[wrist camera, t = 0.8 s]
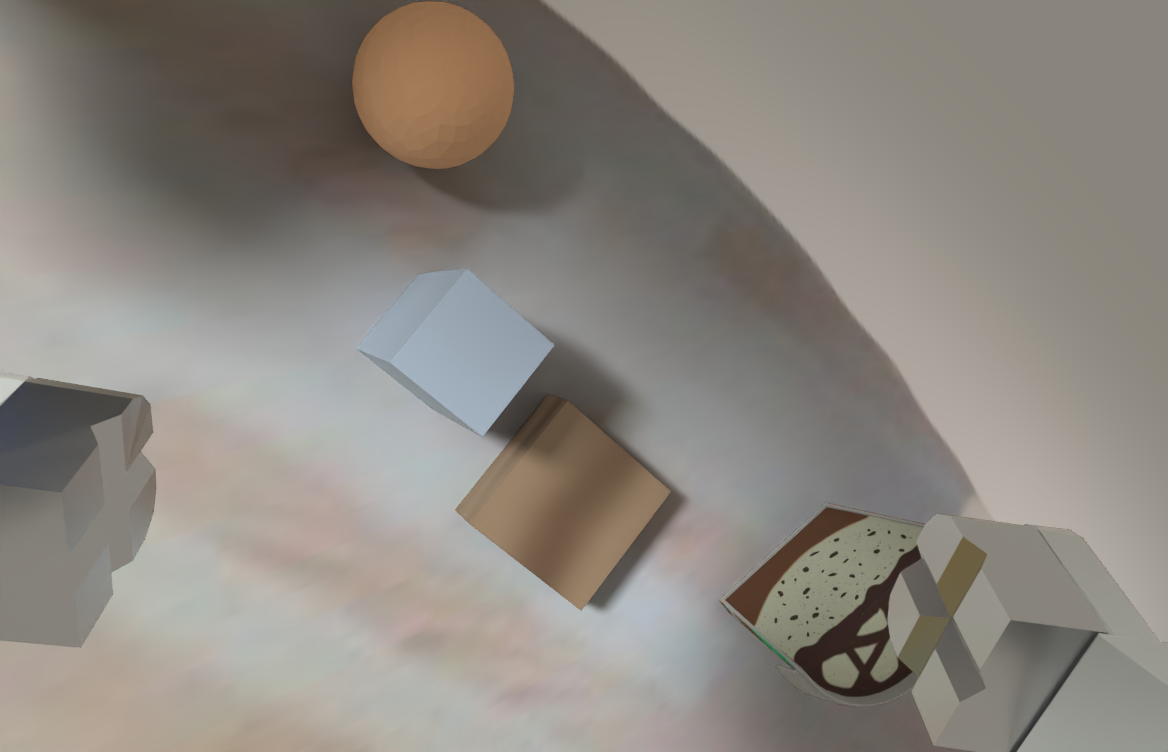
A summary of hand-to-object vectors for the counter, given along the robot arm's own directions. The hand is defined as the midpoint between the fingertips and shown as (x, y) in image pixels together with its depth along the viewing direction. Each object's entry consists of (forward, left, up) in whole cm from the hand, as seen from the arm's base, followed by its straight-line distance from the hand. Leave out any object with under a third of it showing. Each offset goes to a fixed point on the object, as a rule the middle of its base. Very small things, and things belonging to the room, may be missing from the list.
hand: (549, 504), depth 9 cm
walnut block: (+16, +2, -38) cm, 41 cm away
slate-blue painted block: (+5, +4, -38) cm, 38 cm away
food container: (+33, +7, -38) cm, 51 cm away
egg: (-3, +13, -38) cm, 40 cm away
